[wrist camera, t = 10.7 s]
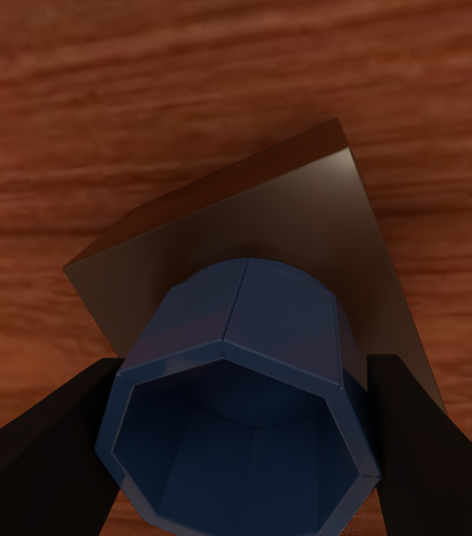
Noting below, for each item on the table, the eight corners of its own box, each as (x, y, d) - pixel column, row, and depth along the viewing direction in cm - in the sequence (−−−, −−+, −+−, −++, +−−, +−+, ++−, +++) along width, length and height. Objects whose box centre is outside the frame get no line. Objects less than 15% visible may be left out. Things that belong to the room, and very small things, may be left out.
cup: (212, 436, 14) (176, 568, 10) (128, 295, 12) (50, 393, 9) (381, 394, 12) (409, 534, 9) (310, 226, 11) (309, 310, 7)
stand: (224, 373, 20) (194, 477, 15) (133, 208, 17) (60, 268, 12) (410, 318, 17) (450, 421, 12) (337, 117, 15) (349, 145, 10)
